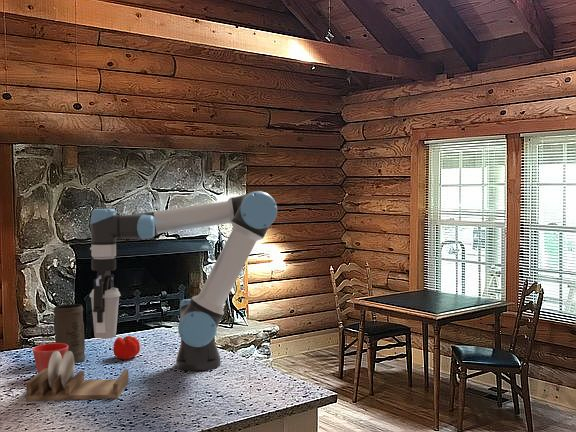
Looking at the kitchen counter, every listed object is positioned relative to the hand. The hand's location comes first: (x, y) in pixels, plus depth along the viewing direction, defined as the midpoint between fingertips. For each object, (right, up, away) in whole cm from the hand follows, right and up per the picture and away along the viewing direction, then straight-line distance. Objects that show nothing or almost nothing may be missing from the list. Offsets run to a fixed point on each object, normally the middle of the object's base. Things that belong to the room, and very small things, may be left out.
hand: (104, 329), depth 198 cm
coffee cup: (0, -2, +1) cm, 2 cm away
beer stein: (-22, -16, +28) cm, 39 cm away
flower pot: (-19, -17, +7) cm, 26 cm away
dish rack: (-5, -17, -10) cm, 20 cm away
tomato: (0, -16, +29) cm, 33 cm away
